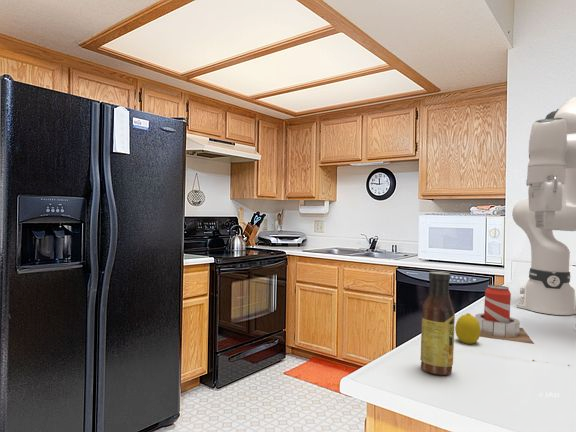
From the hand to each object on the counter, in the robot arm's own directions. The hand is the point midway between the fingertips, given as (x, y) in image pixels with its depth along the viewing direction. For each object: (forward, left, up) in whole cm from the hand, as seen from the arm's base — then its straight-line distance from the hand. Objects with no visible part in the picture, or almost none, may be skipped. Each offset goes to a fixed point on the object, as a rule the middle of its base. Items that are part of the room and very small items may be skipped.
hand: (543, 228), depth 111 cm
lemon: (+20, -19, -29) cm, 40 cm away
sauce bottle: (+40, -26, -29) cm, 56 cm away
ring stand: (+6, -11, -29) cm, 32 cm away
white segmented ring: (+6, -11, -28) cm, 31 cm away
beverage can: (+6, -11, -28) cm, 31 cm away
